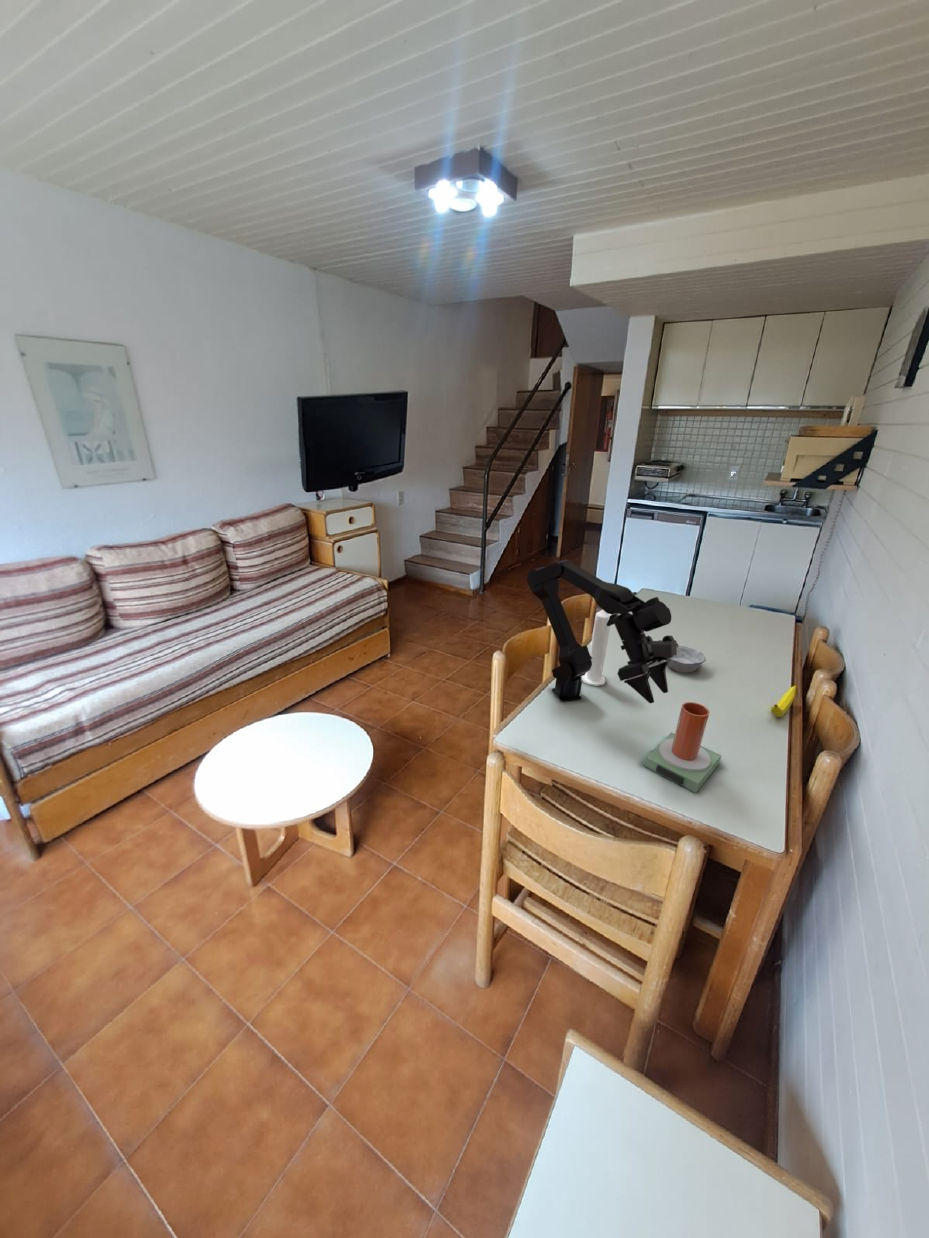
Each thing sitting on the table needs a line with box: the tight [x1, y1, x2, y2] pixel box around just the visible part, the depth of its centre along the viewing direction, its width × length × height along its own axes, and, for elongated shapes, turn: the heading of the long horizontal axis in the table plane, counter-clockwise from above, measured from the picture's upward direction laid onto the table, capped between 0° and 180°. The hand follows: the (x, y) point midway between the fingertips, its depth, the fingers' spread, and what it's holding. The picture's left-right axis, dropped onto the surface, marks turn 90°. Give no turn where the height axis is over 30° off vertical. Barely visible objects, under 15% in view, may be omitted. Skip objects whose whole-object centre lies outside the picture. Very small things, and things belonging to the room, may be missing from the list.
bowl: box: [665, 645, 707, 673], centre depth 159 cm, size 13×13×5 cm
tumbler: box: [671, 701, 711, 761], centre depth 111 cm, size 6×6×12 cm
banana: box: [770, 685, 797, 718], centre depth 136 cm, size 3×19×6 cm, turn 134°
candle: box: [581, 608, 612, 687], centre depth 145 cm, size 7×7×25 cm
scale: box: [643, 731, 722, 793], centre depth 114 cm, size 14×12×3 cm
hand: (659, 697), depth 117 cm, fingers open, 9 cm apart
